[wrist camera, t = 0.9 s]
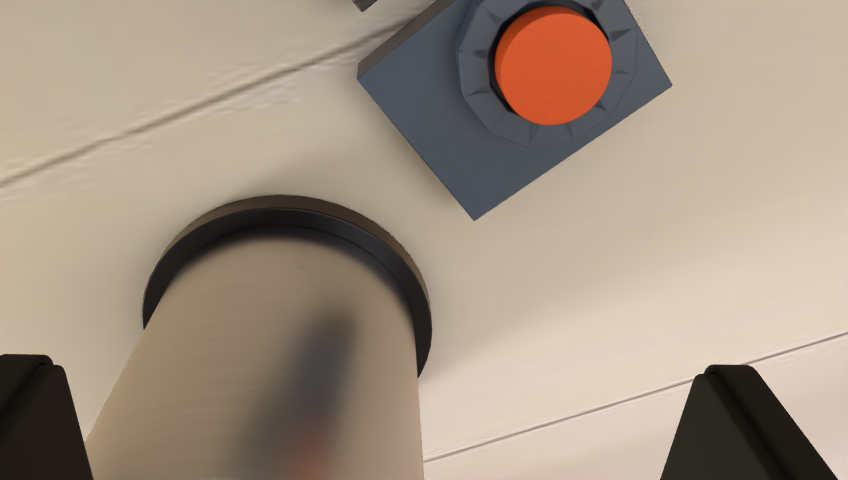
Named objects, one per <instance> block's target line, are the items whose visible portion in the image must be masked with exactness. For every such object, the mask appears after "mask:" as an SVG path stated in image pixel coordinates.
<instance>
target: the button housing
mask: <svg viewBox="0 0 848 480" xmlns="http://www.w3.org/2000/svg"><path fill="white" fill-rule="evenodd" d="M550 5H555V6H563V7H567V8H570V9H573V10H574V11H576V12H578V13H580V14H581V15H583V16H584V17H585V18H587V19H588V20H590V21H591V22H592V23H594V24H595V25H596V26H597V27H598V28H599V29H600V30H601V32H602V33H603V34H604V36H605V38H606V40H607V42H608V44H609V47H610V51H611V57H612V68H611V74H610V79H609V82H608V85H607V87H606V89H605V91H604V93H603V94H602V96H601V98H600V99H599V100H598V101H597V103H596V104H595V105H594V106H593V107H592V108H591V109H590V110H588V111H587V112H586V113H585V114H583V115H582V116H580V117H578V118H576V119H574V120H572V121H569V122H566V123H562V124H557V125H543V124H538V123H534V122H531V121H529V120H527V119H525V118H523V117H522V116H520V115H519V114H518V113H517V112H515V111H514V110H513V108H512V107H511V106H510V105H509V103H508V102H507V100H506V98H505V96H504V94H503V93H502V91H501V89H500V87H499V85H498V82H497V79H496V76H495V69H494V60H495V53H496V49H497V46H498V43H499V41H500V39H501V37H502V35H503V33H504V32H505V31H506V29H507V28H508V27H509V26H510V24H511V23H512V22H513V21H515V20H516V19H517V18H518V17H519V16H521V15H522V14H524V13H526V12H528V11H530V10H532V9H535V8H538V7H542V6H550ZM357 80H358V81H359V83H360V84H361V85H362V86H363V87H364V89H365V90H366V91H367V92H368V94H369V95H370V96H371V97H372V98H373V100H374V101H375V102H376V103H377V104H378V106H379V107H380V108H381V109H382V110H383V112H384V113H385V114H386V115H387V116H388V118H389V119H390V120H391V121H392V123H393V124H394V125H395V126H396V127H397V129H398V130H399V131H400V132H401V133H402V135H403V136H404V137H405V138H406V139H407V141H408V142H409V143H410V144H411V146H412V147H413V148H414V149H415V150H416V152H417V153H418V154H419V155H420V156H421V158H422V159H423V160H424V161H425V162H426V164H427V165H428V166H429V167H430V168H431V170H432V171H433V172H434V173H435V175H436V176H437V177H438V178H439V179H440V181H441V182H442V183H443V184H444V185H445V187H446V188H447V189H448V190H449V191H450V193H451V194H452V195H453V196H454V197H455V199H456V200H457V201H458V202H459V204H460V205H461V206H462V207H463V208H464V210H465V211H466V212H467V213H468V214H469V216H470V217H471V218H472V219H473V220H474V221H475V220H477V219H478V218H479V217H481V216H482V215H484V214H485V213H487V212H488V211H490V210H491V209H493V208H494V207H496V206H497V205H499V204H500V203H501V202H503V201H504V200H506V199H507V198H509V197H510V196H512V195H513V194H515V193H516V192H518V191H519V190H520V189H522V188H523V187H525V186H526V185H528V184H529V183H531V182H532V181H534V180H535V179H537V178H538V177H540V176H541V175H542V174H544V173H545V172H547V171H548V170H550V169H551V168H553V167H554V166H556V165H557V164H559V163H560V162H562V161H563V160H564V159H566V158H567V157H569V156H570V155H572V154H573V153H575V152H576V151H578V150H579V149H581V148H582V147H584V146H585V145H586V144H588V143H589V142H591V141H592V140H594V139H595V138H597V137H598V136H600V135H601V134H603V133H604V132H605V131H607V130H608V129H610V128H611V127H613V126H614V125H616V124H617V123H619V122H620V121H622V120H623V119H625V118H626V117H627V116H629V115H630V114H632V113H633V112H635V111H636V110H638V109H639V108H641V107H642V106H644V105H645V104H647V103H648V102H649V101H651V100H652V99H654V98H655V97H657V96H658V95H660V94H661V93H663V92H664V91H666V90H667V89H668V88H670V87H671V86H672V83H671V82H670V80H669V78H668V76H667V75H666V73H665V71H664V69H663V68H662V66H661V64H660V62H659V61H658V59H657V57H656V55H655V54H654V52H653V50H652V48H651V47H650V45H649V43H648V41H647V40H646V38H645V36H644V34H643V33H642V31H641V29H640V27H639V26H638V24H637V22H636V20H635V19H634V17H633V15H632V14H631V12H630V10H629V8H628V7H627V5H626V3H625V1H624V0H437V1H436V2H435V3H433V4H432V5H431V6H430V7H428V8H427V9H426V10H425V11H423V12H422V13H421V14H420V15H419V16H417V17H416V18H415V19H414V20H412V21H411V22H410V23H409V24H407V25H406V26H405V27H404V28H402V29H401V30H400V31H399V32H397V33H396V34H395V35H394V36H392V37H391V38H390V39H389V40H387V41H386V42H385V43H384V44H382V45H381V46H380V47H379V48H377V49H376V50H375V51H374V52H372V53H371V54H370V55H369V56H368V57H366V58H365V59H364V60H363V61H361V62H360V63H359V66H358V74H357Z"/></svg>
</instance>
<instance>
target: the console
mask: <svg viewBox="0 0 848 480" xmlns="http://www.w3.org/2000/svg"><path fill="white" fill-rule="evenodd" d="M352 1H353V2H354V3H355V5H356V6H357V7H358V9H359V10H360V11H361V12H363V11H365V10H366V9H367V8H368V7H370V6H371V5H372V4H373V3H374V2H376V1H377V0H352Z"/></svg>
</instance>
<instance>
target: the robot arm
mask: <svg viewBox="0 0 848 480" xmlns="http://www.w3.org/2000/svg"><path fill="white" fill-rule="evenodd" d="M0 480H94V479H93V475H92V472H91V468H90V464H89V460H88V456H87V453H86V449H85V445H84V441H83V437H82V434H81V430H80V426H79V422H78V419H77V415H76V411H75V407H74V403H73V400H72V396H71V392H70V388H69V384H68V381H67V377H66V373H65V371H64V368H63V367H62V366H59V365H54V364H53V362H52V360H51V358H50V357H49V356H47V355H28V354H3V355H1V356H0ZM660 480H838V479H837V478H836V476H835V475H834V474H833V472H832V471H831V470H830V468H829V467H828V466H827V464H826V463H825V462H824V460H823V459H822V458H821V456H820V455H819V454H818V452H817V451H816V450H815V448H814V447H813V446H812V444H811V443H810V442H809V440H808V439H807V438H806V436H805V435H804V434H803V432H802V431H801V430H800V428H799V427H798V426H797V424H796V423H795V422H794V420H793V419H792V418H791V416H790V415H789V414H788V412H787V411H786V410H785V408H784V407H783V406H782V404H781V403H780V402H779V400H778V399H777V398H776V396H775V395H774V394H773V392H772V391H771V390H770V388H769V387H768V386H767V384H766V383H765V382H764V380H763V379H762V378H761V376H760V375H759V374H758V372H757V371H756V370H755V369H754V368H753V367H751V366H749V365H710V366H708V367H707V368H706V370H705V372H704V374H698V375H697V376H696V377H695V379H694V381H693V383H692V386H691V389H690V392H689V395H688V398H687V401H686V404H685V407H684V410H683V413H682V416H681V419H680V422H679V425H678V428H677V431H676V434H675V437H674V440H673V443H672V446H671V449H670V452H669V455H668V458H667V461H666V464H665V467H664V470H663V473H662V476H661V479H660Z"/></svg>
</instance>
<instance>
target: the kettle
mask: <svg viewBox="0 0 848 480" xmlns="http://www.w3.org/2000/svg"><path fill="white" fill-rule="evenodd" d="M142 327H143V334H142V335H141V337H140V339H139V341H138V343H137V345H136V347H135V349H134V351H133V352H132V354H131V356H130V358H129V360H128V362H127V364H126V366H125V368H124V369H123V371H122V373H121V375H120V377H119V379H118V381H117V383H116V385H115V386H114V388H113V390H112V392H111V394H110V396H109V398H108V400H107V401H106V403H105V405H104V407H103V409H102V411H101V413H100V415H99V417H98V418H97V420H96V422H95V424H94V426H93V428H92V430H91V432H90V434H89V435H88V437H87V439H86V441H85V443H84V445H85V449H86V453H87V456H88V460H89V464H90V468H91V472H92V475H93V479H94V480H424V470H423V455H422V439H421V424H420V408H419V393H418V377H419V376H420V374H421V373H422V370H423V368H424V366H425V363H426V361H427V358H428V354H429V350H430V347H431V338H432V321H431V310H430V301H429V297H428V293H427V288H426V286H425V283H424V281H423V278H422V276H421V273H420V271H419V270H418V268H417V266H416V265H415V263H414V261H413V259H412V258H411V257H410V256H409V254H408V253H407V252H406V251H405V249H404V248H403V247H402V245H400V244H399V243H398V242H397V241H396V240H395V239H394V238H393V237H392V236H391V235H390V234H389V233H388V232H386V231H385V230H384V229H382V228H381V227H380V226H378V225H377V224H376V223H374V222H373V221H371V220H369V219H367V218H366V217H364V216H362V215H360V214H358V213H357V212H354V211H352V210H349V209H347V208H344V207H342V206H340V205H337V204H333V203H330V202H326V201H322V200H319V199H312V198H306V197H300V196H266V197H256V198H251V199H246V200H241V201H237V202H234V203H231V204H228V205H225V206H222V207H220V208H218V209H216V210H214V211H212V212H209V213H207V214H205V215H203V216H202V217H200V218H199V219H197V220H196V221H194V222H193V223H192V224H190V225H189V226H187V227H186V228H185V229H184V230H183V231H182V232H181V233H180V234H179V235H178V236H177V237H175V239H174V240H173V241H172V243H171V244H170V245H169V246H168V248H167V249H166V250H165V252H164V253H163V255H162V257H161V258H160V260H159V262H158V264H157V265H156V267H155V269H154V271H153V272H152V274H151V276H150V278H149V281H148V284H147V287H146V289H145V292H144V298H143V304H142Z"/></svg>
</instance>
